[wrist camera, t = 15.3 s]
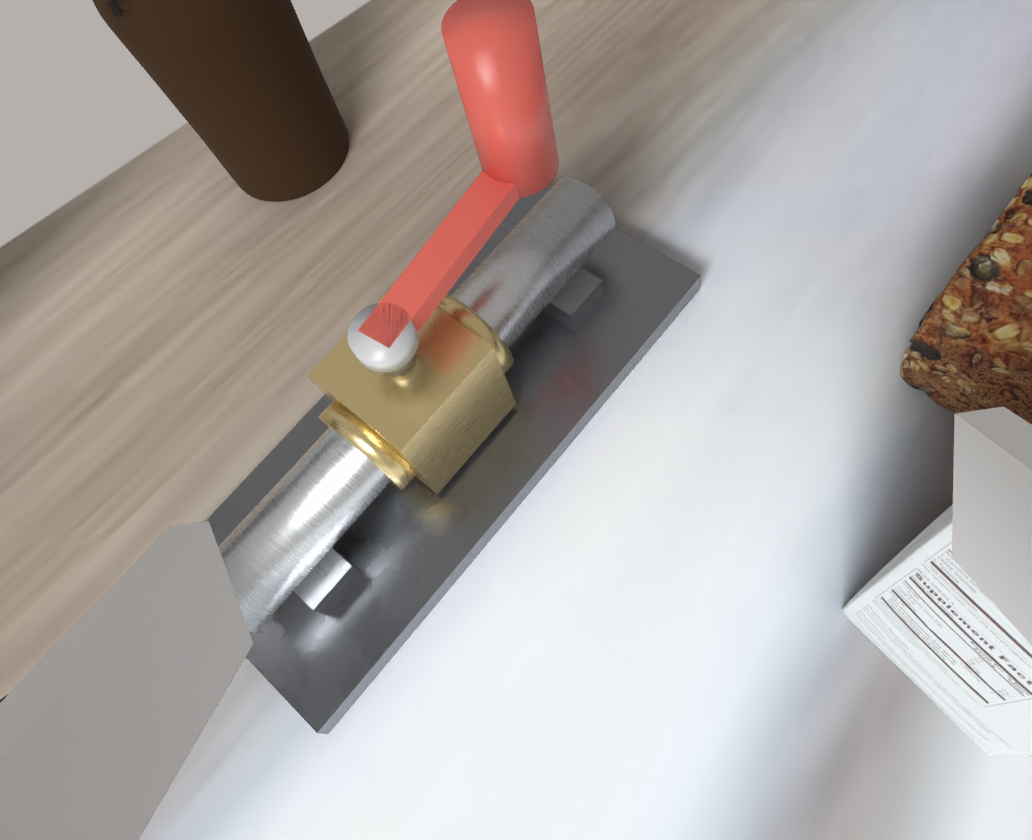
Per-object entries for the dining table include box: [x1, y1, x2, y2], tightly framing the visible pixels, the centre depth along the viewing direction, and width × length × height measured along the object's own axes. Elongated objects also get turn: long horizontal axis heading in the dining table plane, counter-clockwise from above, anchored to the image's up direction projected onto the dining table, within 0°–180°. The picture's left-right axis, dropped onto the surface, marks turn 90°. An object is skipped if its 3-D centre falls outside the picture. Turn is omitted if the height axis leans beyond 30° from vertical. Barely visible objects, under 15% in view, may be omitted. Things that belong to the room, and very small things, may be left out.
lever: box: [347, 0, 559, 373], centre depth 35 cm, size 16×4×9 cm, turn 147°
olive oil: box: [93, 0, 348, 201], centre depth 48 cm, size 11×11×25 cm
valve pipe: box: [207, 176, 701, 734], centre depth 43 cm, size 34×14×11 cm, turn 140°
